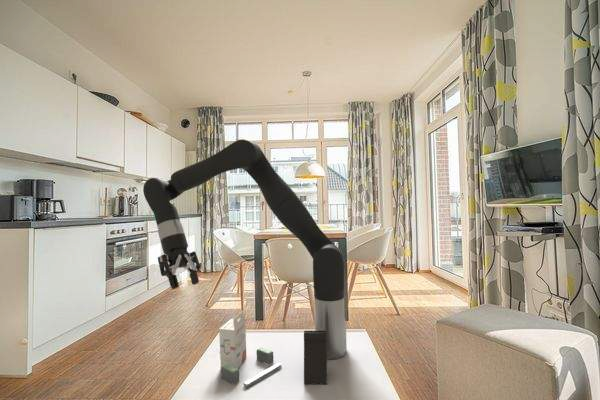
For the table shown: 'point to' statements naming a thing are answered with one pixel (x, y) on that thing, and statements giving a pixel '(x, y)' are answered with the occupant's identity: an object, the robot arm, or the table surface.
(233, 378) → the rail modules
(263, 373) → the rail
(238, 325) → the ink cartridge box
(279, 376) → the table surface
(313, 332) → the phone stand
